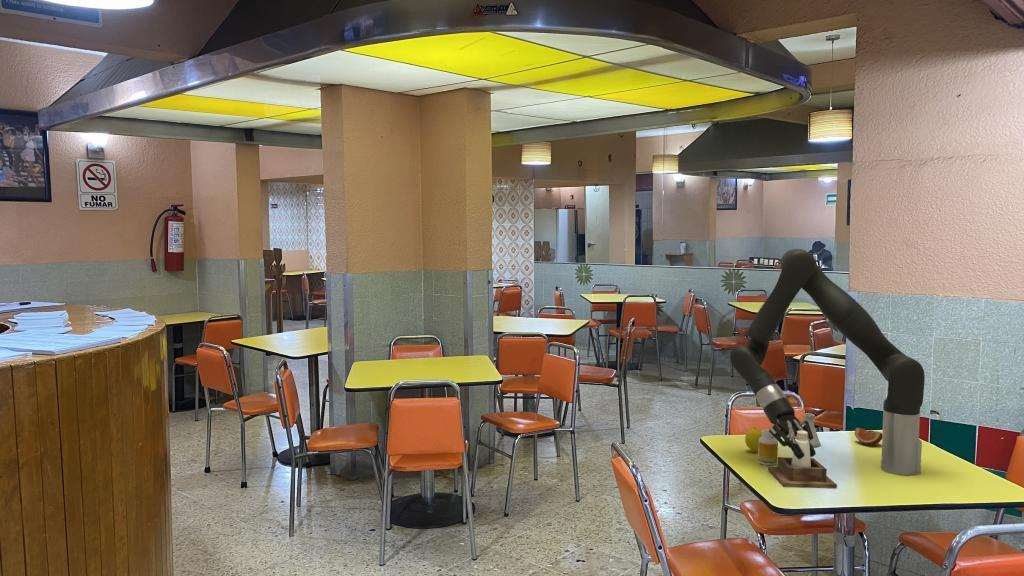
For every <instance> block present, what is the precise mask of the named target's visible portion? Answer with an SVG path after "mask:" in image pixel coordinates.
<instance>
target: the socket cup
mask: <svg viewBox="0 0 1024 576" xmlns="http://www.w3.org/2000/svg"><path fill="white" fill-rule="evenodd" d="M810 461H811V467H792V466H791V462H792V457H787V456H778V458H777V466H767V471H768V472H769V473H770V474H771V475H772V477H773V478H775V479H776V481H777V480H778V481H779V482H780V483H779V482H778V481H777V482H778V483H779V484H780V485H781V486H782V487H783V488H814V489H819V488H820V489H837V488H838V484H837V483H836V482H835V481H834V480H833V479H831V478H830V477H829V476H828V475H827V474H828V473H827V471H828V469H827V468H826V467H825V466H824V465H822V464H821V463H820V462H819V461H818V460H816V458H814V457H810Z"/></svg>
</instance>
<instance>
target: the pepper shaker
mask: <svg viewBox="0 0 1024 576" xmlns="http://www.w3.org/2000/svg"><path fill="white" fill-rule="evenodd" d="M807 435H808V432H806V431H797V439H795V440H796V444H798V445H799V447H800V448H801V450H802V451H803V453H804V457H803V458H802V459H798V458H797V457H796V456H795V455H794V453H793V452H792V462H791V466H792V467H811V461H810V458H811V457H810V446H809V441H808V440H807Z"/></svg>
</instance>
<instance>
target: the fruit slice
mask: <svg viewBox="0 0 1024 576" xmlns="http://www.w3.org/2000/svg"><path fill="white" fill-rule="evenodd" d="M854 436H855V438H856V439H857V440H858V441H859V442H860V443H862V444H864V445H865V446H875V445H878V444H879V443H880V442H882V432H880V431H875V430H871V429H869V430H866V429H865V428H861V427H855V430H854Z"/></svg>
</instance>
